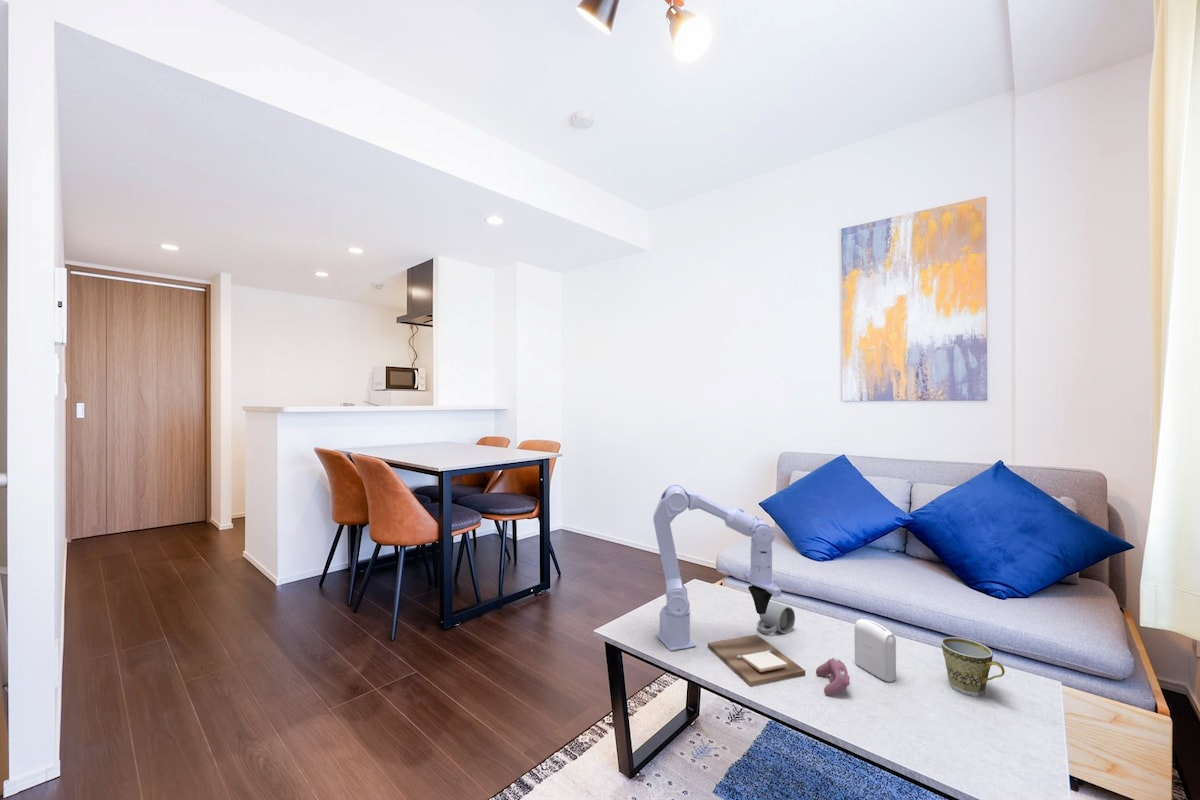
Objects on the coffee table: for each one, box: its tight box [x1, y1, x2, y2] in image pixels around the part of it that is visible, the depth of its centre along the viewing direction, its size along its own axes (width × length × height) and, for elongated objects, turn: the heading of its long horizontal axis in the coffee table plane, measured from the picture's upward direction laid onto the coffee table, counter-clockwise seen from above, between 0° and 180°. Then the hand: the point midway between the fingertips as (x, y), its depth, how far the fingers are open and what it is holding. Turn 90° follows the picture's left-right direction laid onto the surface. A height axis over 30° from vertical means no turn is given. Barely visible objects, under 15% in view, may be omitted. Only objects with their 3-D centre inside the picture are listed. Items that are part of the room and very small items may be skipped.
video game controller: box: [815, 657, 851, 697], centre depth 122 cm, size 10×5×7 cm, turn 169°
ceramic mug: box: [756, 600, 796, 635], centre depth 151 cm, size 11×8×8 cm
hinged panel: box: [737, 650, 788, 672], centre depth 129 cm, size 9×10×1 cm
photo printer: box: [854, 618, 897, 683], centre depth 128 cm, size 10×4×12 cm, turn 20°
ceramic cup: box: [941, 636, 1006, 697], centre depth 119 cm, size 13×10×10 cm
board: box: [707, 634, 806, 687], centre depth 133 cm, size 20×16×1 cm
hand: (761, 613), depth 141 cm, fingers closed
